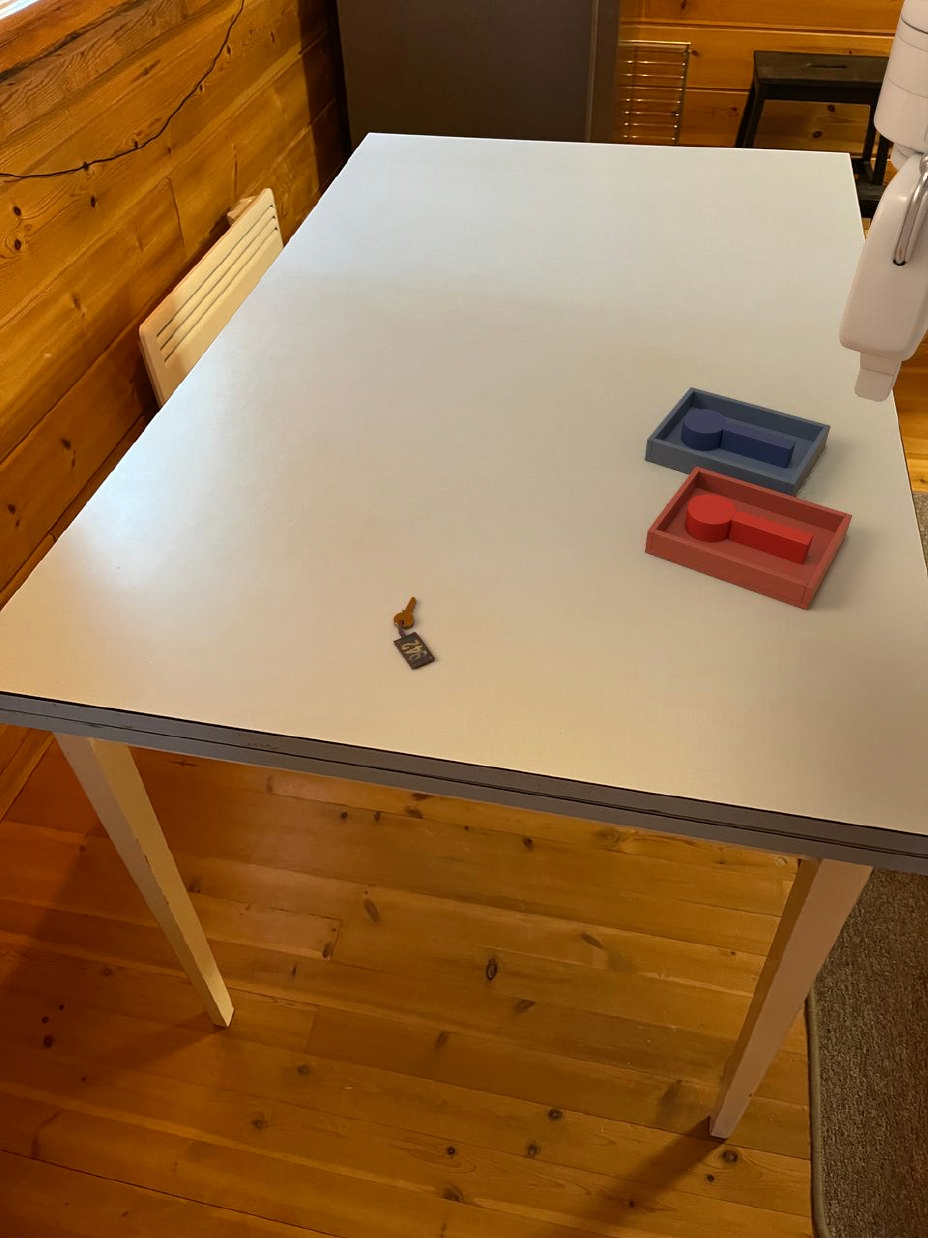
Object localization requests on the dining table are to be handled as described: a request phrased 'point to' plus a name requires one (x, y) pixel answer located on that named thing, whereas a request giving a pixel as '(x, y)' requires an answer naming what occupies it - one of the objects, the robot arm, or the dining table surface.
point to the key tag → (411, 639)
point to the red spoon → (744, 528)
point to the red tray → (742, 560)
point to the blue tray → (678, 456)
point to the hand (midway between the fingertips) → (895, 354)
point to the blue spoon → (734, 438)
